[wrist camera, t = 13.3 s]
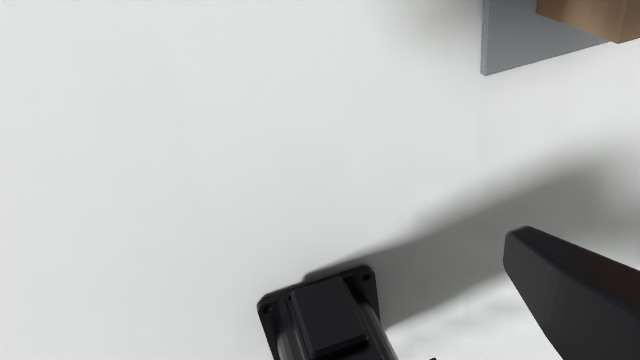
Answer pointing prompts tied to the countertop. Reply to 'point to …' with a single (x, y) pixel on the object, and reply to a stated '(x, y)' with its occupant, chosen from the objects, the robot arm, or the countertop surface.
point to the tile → (525, 36)
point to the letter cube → (596, 17)
